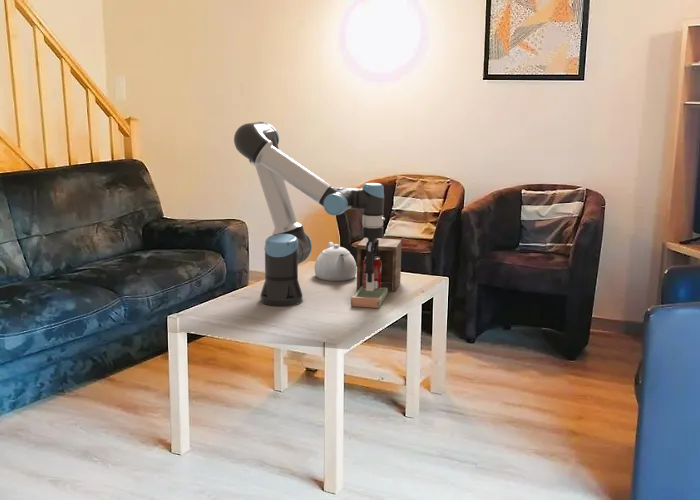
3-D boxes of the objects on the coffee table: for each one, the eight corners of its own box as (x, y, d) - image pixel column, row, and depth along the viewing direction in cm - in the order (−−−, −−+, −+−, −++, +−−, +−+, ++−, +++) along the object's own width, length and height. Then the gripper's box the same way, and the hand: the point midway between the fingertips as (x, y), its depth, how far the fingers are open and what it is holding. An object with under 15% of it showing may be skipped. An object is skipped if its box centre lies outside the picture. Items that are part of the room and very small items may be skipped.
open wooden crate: (356, 289, 300) (357, 244, 296) (363, 280, 314) (364, 237, 310) (395, 292, 297) (396, 247, 293) (400, 283, 311) (401, 239, 308)
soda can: (379, 292, 284) (380, 259, 282) (361, 291, 285) (361, 258, 283) (382, 287, 291) (383, 256, 288) (364, 286, 292) (365, 254, 289)
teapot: (366, 275, 323) (367, 243, 320) (342, 284, 308) (342, 250, 305) (328, 269, 333) (329, 237, 330) (303, 277, 317) (303, 244, 315)
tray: (350, 305, 277) (351, 297, 276) (361, 291, 296) (361, 283, 295) (378, 307, 275) (379, 299, 274) (387, 293, 294) (387, 285, 293)
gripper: (378, 231, 273) (377, 295, 278) (387, 222, 292) (385, 282, 297) (357, 230, 274) (356, 294, 279) (367, 221, 293) (366, 281, 298)
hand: (371, 287), depth 288 cm, fingers closed on soda can, 7 cm apart
